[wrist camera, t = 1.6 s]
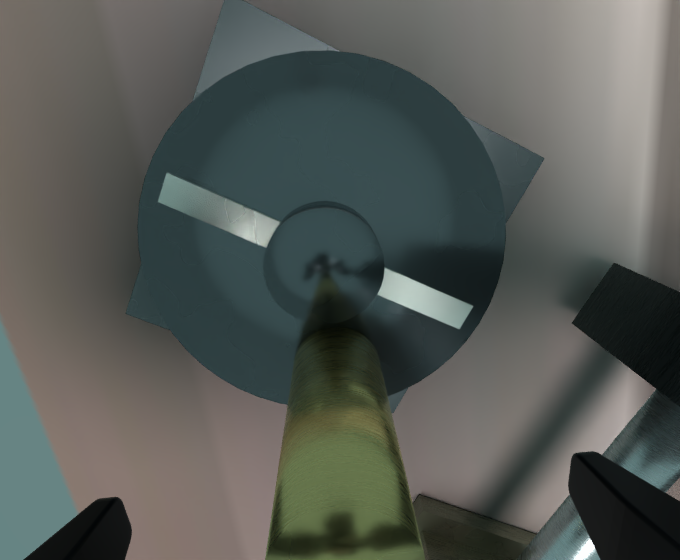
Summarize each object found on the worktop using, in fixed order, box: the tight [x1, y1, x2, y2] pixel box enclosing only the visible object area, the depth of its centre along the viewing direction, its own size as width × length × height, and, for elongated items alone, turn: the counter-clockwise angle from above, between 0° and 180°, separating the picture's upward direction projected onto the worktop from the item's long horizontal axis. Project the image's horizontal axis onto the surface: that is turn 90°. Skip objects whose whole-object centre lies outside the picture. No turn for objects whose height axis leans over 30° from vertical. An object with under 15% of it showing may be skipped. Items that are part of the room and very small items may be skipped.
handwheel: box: [138, 50, 506, 560], centre depth 9 cm, size 10×10×8 cm
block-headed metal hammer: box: [516, 263, 680, 560], centre depth 14 cm, size 6×18×6 cm, turn 155°
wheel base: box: [126, 0, 544, 413], centre depth 13 cm, size 10×10×1 cm
